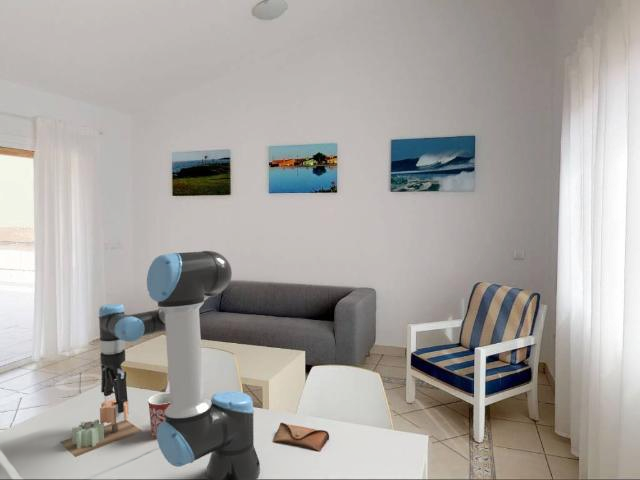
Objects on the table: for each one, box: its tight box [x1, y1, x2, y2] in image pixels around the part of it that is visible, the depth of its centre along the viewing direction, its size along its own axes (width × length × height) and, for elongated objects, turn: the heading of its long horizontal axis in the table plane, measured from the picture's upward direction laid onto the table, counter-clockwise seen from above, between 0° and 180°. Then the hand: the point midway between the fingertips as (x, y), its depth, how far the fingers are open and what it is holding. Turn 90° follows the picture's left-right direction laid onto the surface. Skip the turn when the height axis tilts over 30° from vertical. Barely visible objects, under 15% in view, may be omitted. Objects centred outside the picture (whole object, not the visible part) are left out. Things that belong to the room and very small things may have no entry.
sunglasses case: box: [271, 422, 330, 452], centre depth 144 cm, size 18×7×7 cm, turn 71°
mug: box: [147, 392, 170, 439], centre depth 147 cm, size 13×9×14 cm
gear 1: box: [71, 419, 105, 449], centre depth 140 cm, size 9×8×5 cm
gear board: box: [59, 419, 143, 458], centre depth 144 cm, size 13×21×8 cm, turn 139°
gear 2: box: [99, 398, 130, 425], centre depth 147 cm, size 9×8×5 cm
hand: (114, 417), depth 147 cm, fingers closed on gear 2, 7 cm apart
